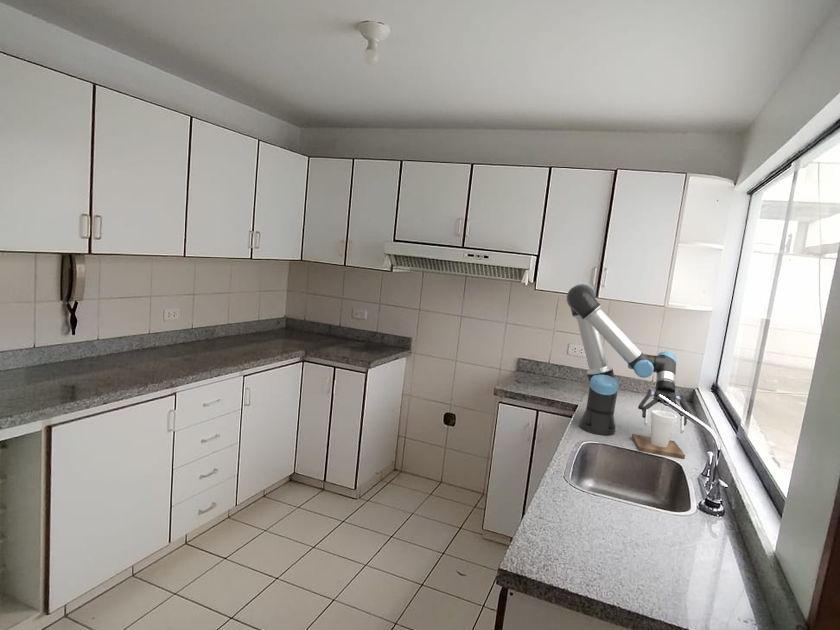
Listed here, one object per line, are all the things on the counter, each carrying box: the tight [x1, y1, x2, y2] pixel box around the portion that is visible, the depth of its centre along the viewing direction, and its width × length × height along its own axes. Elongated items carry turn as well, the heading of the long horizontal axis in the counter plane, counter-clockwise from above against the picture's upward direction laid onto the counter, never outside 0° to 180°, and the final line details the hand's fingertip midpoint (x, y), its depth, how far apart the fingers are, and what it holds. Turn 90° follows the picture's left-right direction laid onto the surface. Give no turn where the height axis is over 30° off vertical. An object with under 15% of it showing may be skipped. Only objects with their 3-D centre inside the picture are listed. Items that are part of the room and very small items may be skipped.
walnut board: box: [631, 433, 686, 460], centre depth 212 cm, size 17×16×2 cm
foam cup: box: [650, 409, 678, 447], centre depth 211 cm, size 10×9×13 cm
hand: (663, 428), depth 210 cm, fingers open, 13 cm apart
